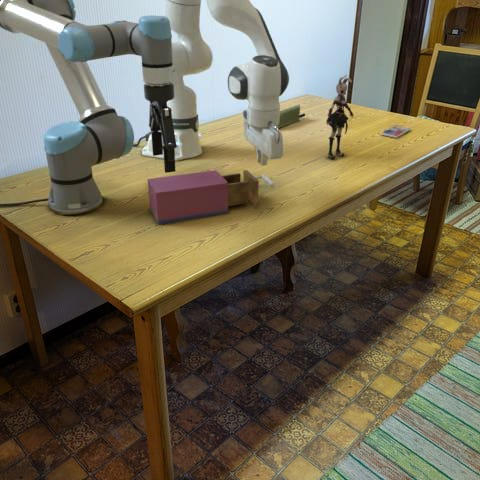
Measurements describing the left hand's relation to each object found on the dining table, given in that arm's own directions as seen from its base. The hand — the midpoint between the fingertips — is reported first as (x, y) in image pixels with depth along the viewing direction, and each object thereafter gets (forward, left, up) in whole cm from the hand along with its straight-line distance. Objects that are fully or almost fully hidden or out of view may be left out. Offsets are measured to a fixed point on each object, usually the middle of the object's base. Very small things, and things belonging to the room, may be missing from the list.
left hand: (163, 163), depth 138 cm
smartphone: (+78, +89, -16) cm, 119 cm away
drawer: (+17, +9, -15) cm, 25 cm away
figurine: (+50, +56, -16) cm, 77 cm away
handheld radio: (+32, +95, -16) cm, 102 cm away
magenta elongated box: (+6, +3, -16) cm, 17 cm away
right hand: (+26, +14, -4) cm, 30 cm away
